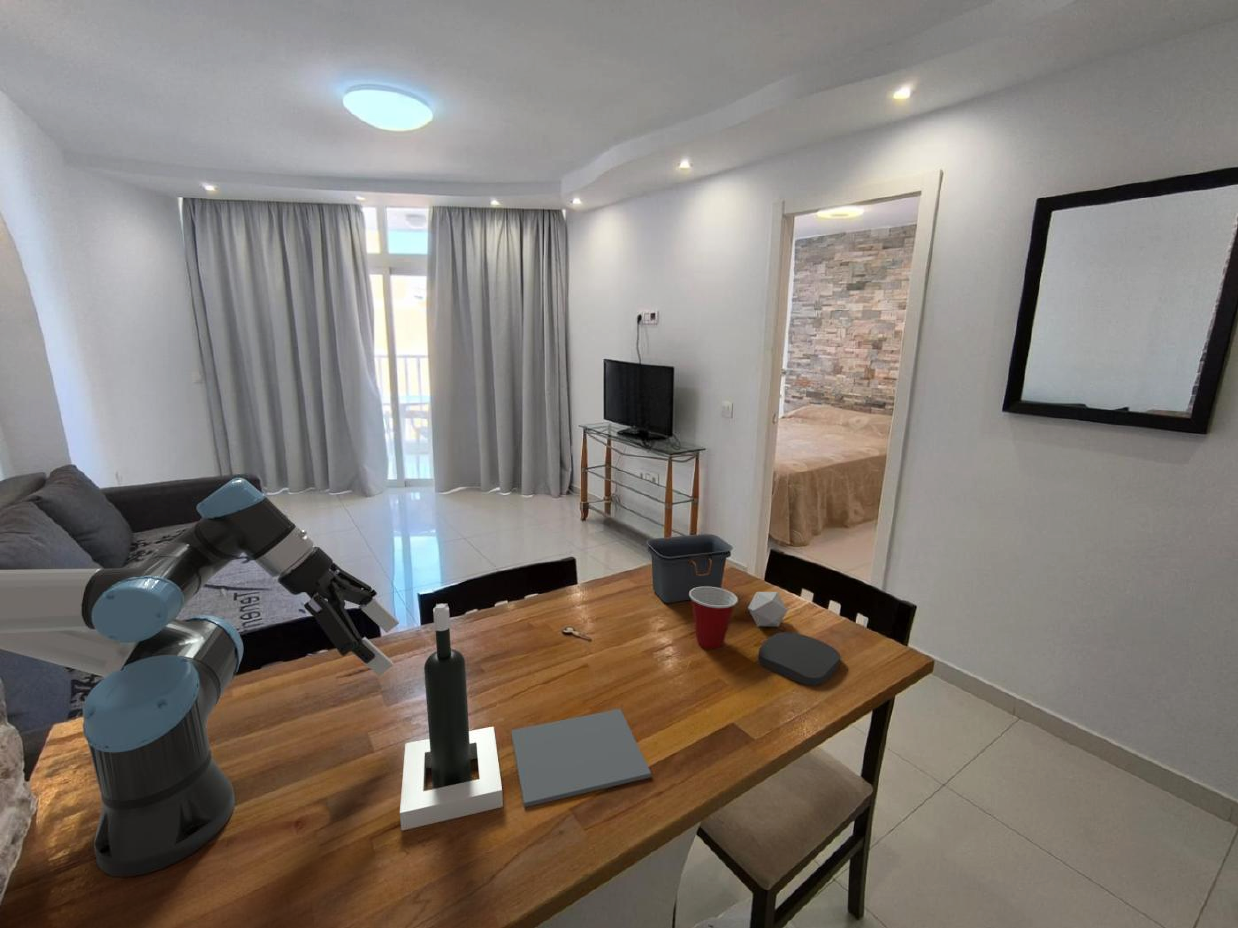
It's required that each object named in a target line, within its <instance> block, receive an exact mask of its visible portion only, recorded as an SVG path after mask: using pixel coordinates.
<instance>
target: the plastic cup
mask: <svg viewBox="0 0 1238 928" xmlns="http://www.w3.org/2000/svg"><path fill="white" fill-rule="evenodd" d="M689 596H690V598H691V600H690V601H691V608H692V612H693V614H692V615H693V622H694V630H695V635H696V641H697V644H698V646H699V647H701V648H703V649H706V650H719V649H721V648H722V646H723V644H724V643H725V639H726V634H727V632H728V628H729V624H730V621H731V618H732V614H733V612H734V611H733V610H734V608H735V605H736V604H737V603H738V601H739V598H738V596H736V595H735V593H733V592H732V591H729V590H728V589H725V588H722V587H721V588H717V587H709V586H708V587H697V588H693V589H692V590H690V592H689Z"/></svg>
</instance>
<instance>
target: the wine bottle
mask: <svg viewBox="0 0 1238 928" xmlns="http://www.w3.org/2000/svg"><path fill="white" fill-rule="evenodd" d="M432 611H433V613H432V614H433V623H434V625H433V627H434V631H435V642H436V643H435V644H436V651H434V652H433V653H431V654H429V656H428V657H427V659H426V661H425V663H424V666H423V671H424V673H423V674H424V686H425V697H426V698H425V699H426V711H427V712H426V713H427V714H426V715H427V723H428V725H427V726H428V737H429V738H428V739H429V741H430V754H431V778H432V779H431V780H432V789H437V788H441V787H446V786H450V785H455V784H459V783H464V782H469V781H472V762H471V760H472V759H470V742H469V731H470V727H469V726H470V725H469V724H470V723H469V711H468V690H467V689H468V688H467V671H466V660H465V657H464V655H463V654H462V653H461V652H460V651H458V650H456V649H452V645H451V631H450V628H451V621H450V620H451V617H450V608H449V605H448V602H447V603H436V605H435V607H434V608H433V610H432Z"/></svg>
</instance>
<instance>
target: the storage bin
mask: <svg viewBox="0 0 1238 928" xmlns="http://www.w3.org/2000/svg"><path fill="white" fill-rule="evenodd" d="M645 542H646V545H647V548H646V550H647V552H649V553H648V554H651V555H650V556H651V575H652V576H651V577H652V590H653V592H655V594H656V595H657V596H658V597H659V599H660V600H662V602H664V603H666V604H670V603H676V602H684V601H689V600H690V601H691V598H690V596H689V592H690V590H692V589H693V588H697V587H708V586H709V587H717V588H721V589H722V584H723V579H724V573H725V566H726V562H727V558H730V557H731V556H732V555H731V554H732V550H733V549H734V548H733V546H732V545H731V544H729V543H728V542H727V541H726V540H724V539H723V538H721V537H720V536H718V535H716V534H709V533H702V534H700V533H699V534H691V535H689V534H688V535H679V536H678V535H676V536H668V537H657V538H650V539H648V540H646V541H645Z"/></svg>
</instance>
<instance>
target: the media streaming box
mask: <svg viewBox="0 0 1238 928" xmlns="http://www.w3.org/2000/svg"><path fill="white" fill-rule="evenodd" d="M757 655H758V657H757V658H758V662H759V664H760V665H761V666H763V667H764V668H765V669H768V670H770V671H772V672H774V673H776V674H778V675H780V676H783V677H785V678H787V679H789V680H792V681H794V682H796V683H799V684H802V685H805V686H810V687H817V686H821V685H823V684H825V683H826V682H827V681H828V680H829V679H830V678H831V677H832V676H833V675H834V673H836V671H837V670H838V668H839V667H840V665H841V654H840V652H839V651H838V650H837V649H836V648H834V647H833V646H831V645H829V644H827V643H825V642H823V641H822V640H819V639H816V638H814V637H811V636H808V635H806V634H802V633H798V632H793V631H791V632H790V631H781V632H777V633H775V634H774V635H773V634H772V635H771V636H770V637H769V638H768V639H767V640H765V641H764V642H763V643H762V645H760V647H759V648H758V654H757Z"/></svg>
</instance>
